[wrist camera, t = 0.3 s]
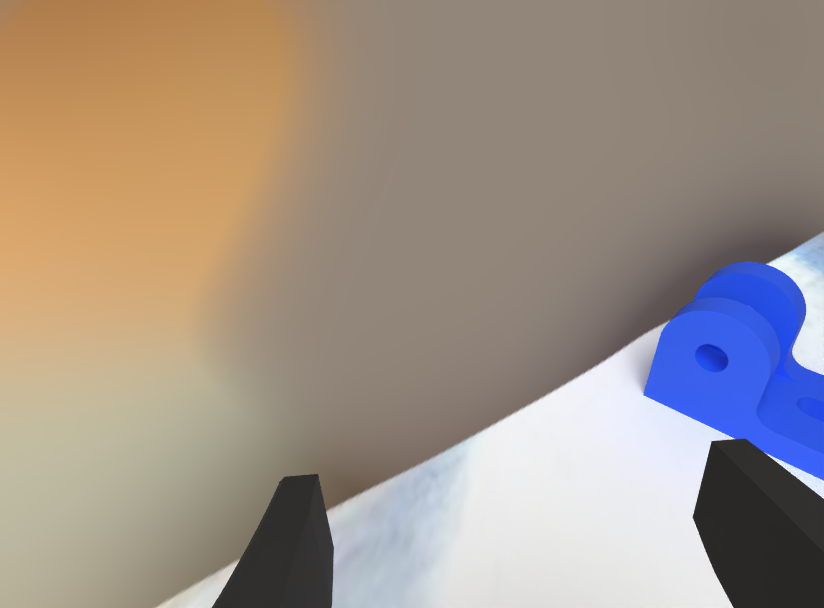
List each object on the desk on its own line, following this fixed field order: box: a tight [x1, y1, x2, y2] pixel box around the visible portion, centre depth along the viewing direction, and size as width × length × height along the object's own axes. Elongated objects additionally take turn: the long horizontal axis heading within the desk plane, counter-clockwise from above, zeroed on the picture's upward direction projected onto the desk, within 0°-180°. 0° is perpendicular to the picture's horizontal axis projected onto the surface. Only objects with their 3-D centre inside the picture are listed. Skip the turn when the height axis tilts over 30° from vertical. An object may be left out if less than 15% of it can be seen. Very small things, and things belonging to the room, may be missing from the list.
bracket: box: [644, 262, 824, 480], centre depth 39 cm, size 18×8×9 cm, turn 48°
